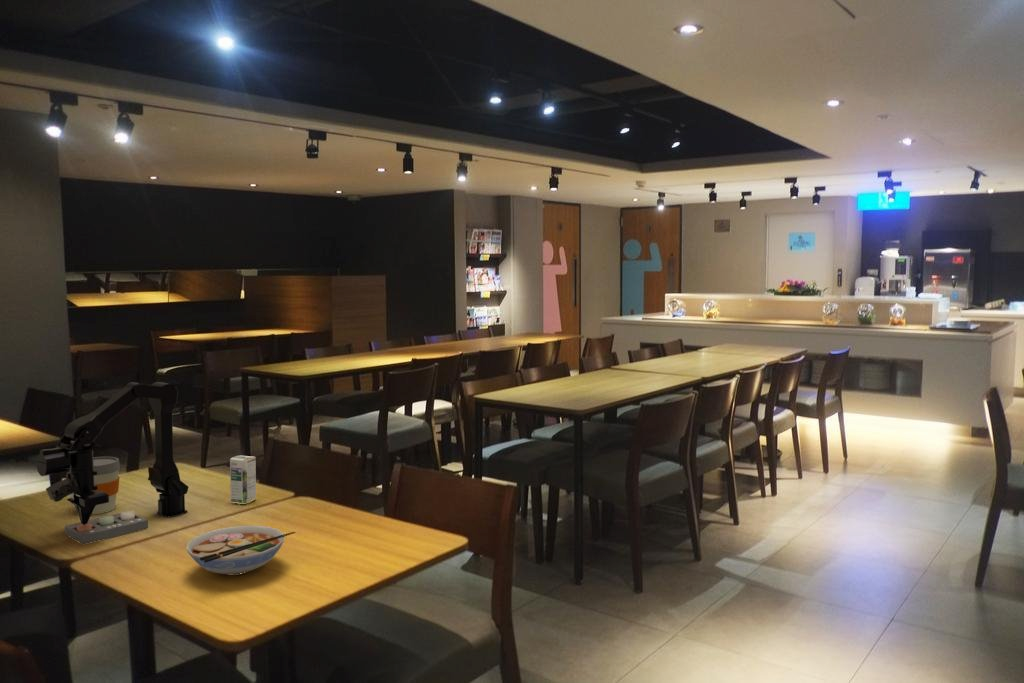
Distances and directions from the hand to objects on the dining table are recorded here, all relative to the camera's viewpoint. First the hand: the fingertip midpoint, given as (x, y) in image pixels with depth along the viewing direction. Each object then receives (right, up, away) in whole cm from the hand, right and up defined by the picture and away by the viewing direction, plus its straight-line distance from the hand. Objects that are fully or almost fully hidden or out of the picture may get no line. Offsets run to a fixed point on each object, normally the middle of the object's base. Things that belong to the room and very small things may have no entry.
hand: (84, 524), depth 211 cm
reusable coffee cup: (-9, -2, +24) cm, 26 cm away
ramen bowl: (+49, -6, -21) cm, 54 cm away
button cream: (+7, -3, +9) cm, 12 cm away
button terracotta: (0, -5, 0) cm, 4 cm away
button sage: (+4, -3, +5) cm, 7 cm away
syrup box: (+32, -1, +33) cm, 46 cm away
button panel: (+4, -3, +5) cm, 7 cm away
